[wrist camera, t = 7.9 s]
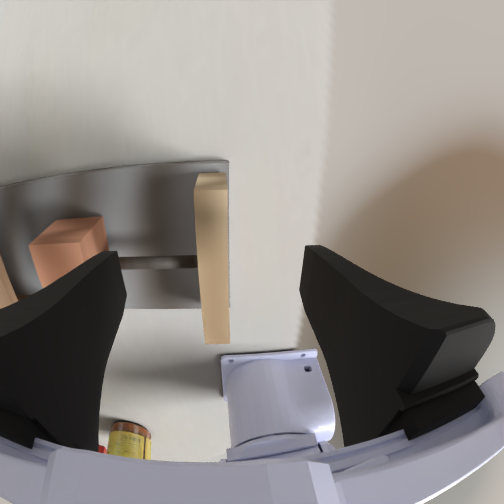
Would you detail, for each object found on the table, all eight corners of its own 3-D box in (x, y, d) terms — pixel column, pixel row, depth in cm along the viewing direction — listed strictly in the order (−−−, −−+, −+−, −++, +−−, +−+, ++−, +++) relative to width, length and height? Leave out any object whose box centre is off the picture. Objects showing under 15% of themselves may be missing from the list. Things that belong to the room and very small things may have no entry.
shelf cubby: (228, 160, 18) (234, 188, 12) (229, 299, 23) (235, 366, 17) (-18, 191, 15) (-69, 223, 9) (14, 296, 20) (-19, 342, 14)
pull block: (225, 172, 17) (227, 189, 13) (227, 304, 21) (229, 343, 18) (50, 186, 15) (17, 206, 12) (80, 304, 20) (63, 338, 16)
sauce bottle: (103, 421, 31) (87, 539, 14) (132, 416, 31) (121, 548, 13) (132, 440, 34) (125, 548, 17) (162, 436, 34) (160, 554, 16)
